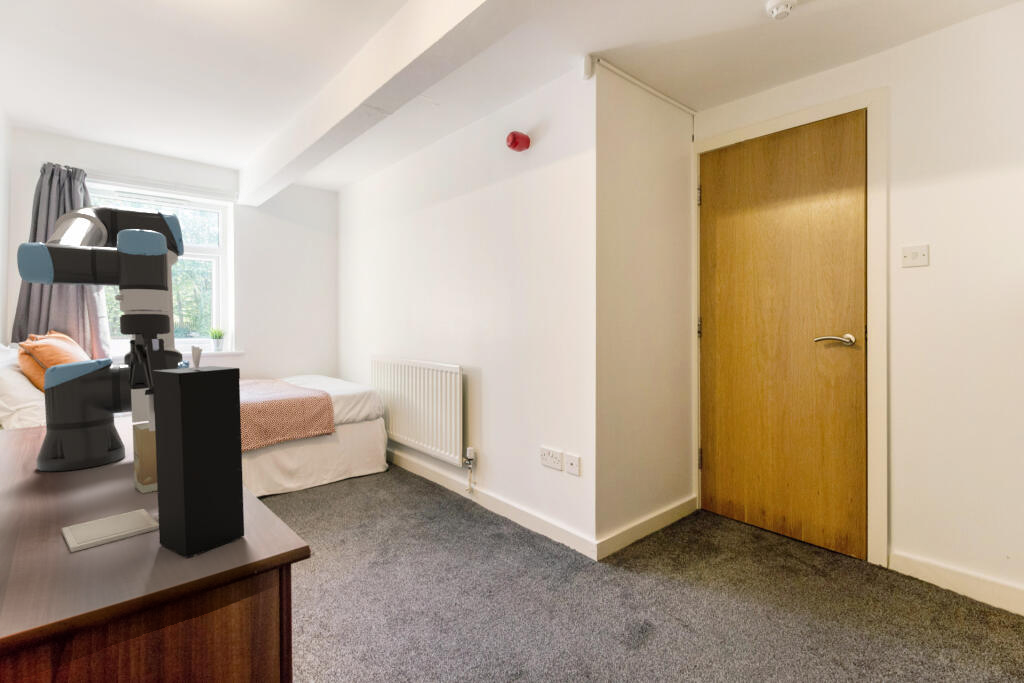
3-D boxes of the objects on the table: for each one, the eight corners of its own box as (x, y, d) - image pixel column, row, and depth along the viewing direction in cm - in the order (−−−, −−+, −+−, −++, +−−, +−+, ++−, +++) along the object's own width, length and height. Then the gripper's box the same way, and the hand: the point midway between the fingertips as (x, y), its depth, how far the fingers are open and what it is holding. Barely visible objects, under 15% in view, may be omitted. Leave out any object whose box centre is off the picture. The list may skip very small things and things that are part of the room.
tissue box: (185, 559, 64) (178, 347, 63) (158, 545, 68) (150, 346, 67) (245, 537, 71) (239, 345, 70) (216, 525, 75) (210, 344, 74)
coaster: (61, 532, 73) (61, 527, 73) (143, 512, 81) (143, 508, 80) (71, 552, 66) (70, 547, 66) (159, 528, 74) (159, 524, 74)
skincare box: (133, 487, 93) (131, 424, 93) (160, 481, 97) (158, 420, 96) (142, 494, 89) (140, 428, 89) (170, 488, 92) (168, 424, 92)
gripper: (107, 315, 97) (111, 421, 98) (135, 310, 80) (140, 437, 81) (152, 315, 103) (156, 415, 103) (188, 311, 86) (192, 430, 87)
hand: (149, 425), depth 92 cm, fingers open, 13 cm apart
